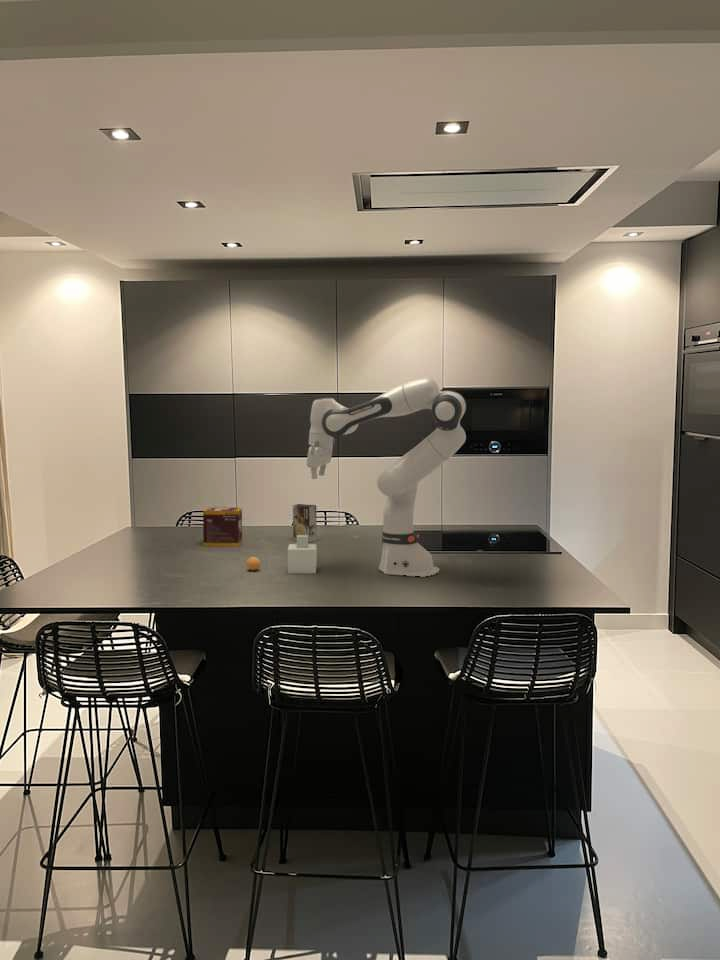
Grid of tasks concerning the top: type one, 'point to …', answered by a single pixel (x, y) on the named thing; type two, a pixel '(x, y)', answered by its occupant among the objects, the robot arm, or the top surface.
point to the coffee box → (304, 521)
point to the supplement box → (222, 526)
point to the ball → (253, 563)
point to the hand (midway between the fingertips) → (318, 477)
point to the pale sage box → (302, 556)
